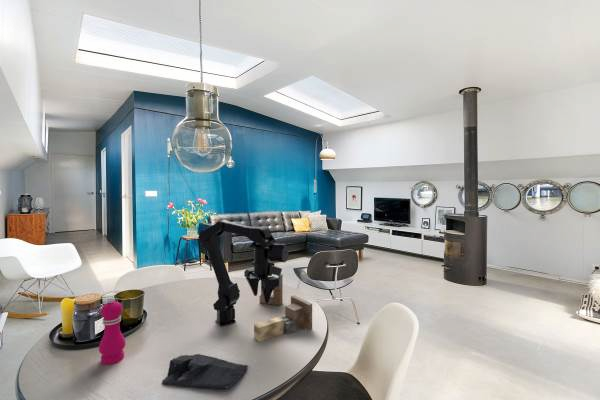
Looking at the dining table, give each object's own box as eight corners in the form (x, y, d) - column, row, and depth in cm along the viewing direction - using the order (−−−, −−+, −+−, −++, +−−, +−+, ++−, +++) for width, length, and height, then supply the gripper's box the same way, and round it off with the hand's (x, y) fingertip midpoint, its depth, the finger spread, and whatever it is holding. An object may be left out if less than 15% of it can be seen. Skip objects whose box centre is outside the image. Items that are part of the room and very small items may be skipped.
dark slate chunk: (225, 400, 77) (225, 382, 77) (156, 384, 83) (156, 368, 83) (252, 367, 92) (252, 352, 92) (191, 356, 98) (191, 341, 98)
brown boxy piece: (291, 336, 110) (291, 310, 110) (273, 325, 120) (273, 300, 119) (312, 329, 116) (312, 303, 116) (293, 318, 126) (293, 295, 125)
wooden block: (279, 305, 140) (279, 267, 140) (259, 303, 144) (259, 266, 143) (282, 303, 144) (282, 266, 143) (262, 300, 147) (262, 264, 147)
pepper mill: (120, 350, 100) (119, 292, 100) (129, 358, 96) (128, 296, 95) (95, 360, 95) (94, 298, 94) (103, 368, 90) (102, 303, 90)
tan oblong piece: (258, 341, 107) (258, 327, 106) (254, 337, 109) (254, 324, 109) (290, 330, 115) (290, 317, 115) (285, 327, 118) (285, 314, 118)
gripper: (292, 261, 113) (291, 302, 113) (267, 252, 128) (267, 288, 129) (266, 265, 106) (265, 308, 107) (243, 255, 122) (243, 293, 122)
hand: (261, 299), depth 116 cm, fingers open, 9 cm apart
